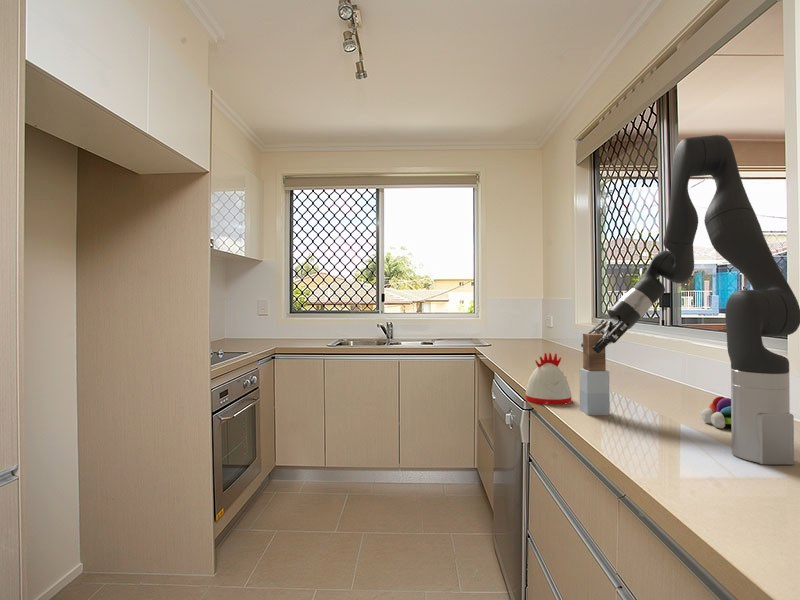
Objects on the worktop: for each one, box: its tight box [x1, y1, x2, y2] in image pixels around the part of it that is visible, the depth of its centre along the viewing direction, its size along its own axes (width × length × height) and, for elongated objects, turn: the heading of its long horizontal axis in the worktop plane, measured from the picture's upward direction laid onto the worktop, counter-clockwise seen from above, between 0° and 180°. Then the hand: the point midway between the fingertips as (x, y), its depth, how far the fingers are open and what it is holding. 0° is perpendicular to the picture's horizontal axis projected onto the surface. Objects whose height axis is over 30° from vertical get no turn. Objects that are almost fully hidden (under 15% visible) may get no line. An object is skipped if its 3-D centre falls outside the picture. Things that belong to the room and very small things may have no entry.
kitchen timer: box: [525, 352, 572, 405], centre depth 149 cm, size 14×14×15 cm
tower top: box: [578, 367, 610, 393], centre depth 132 cm, size 6×6×6 cm
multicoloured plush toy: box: [700, 396, 731, 430], centre depth 117 cm, size 8×10×7 cm
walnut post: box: [582, 333, 607, 371], centre depth 132 cm, size 4×4×10 cm
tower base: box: [579, 389, 611, 416], centre depth 131 cm, size 6×6×6 cm
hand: (589, 349), depth 132 cm, fingers open, 8 cm apart
